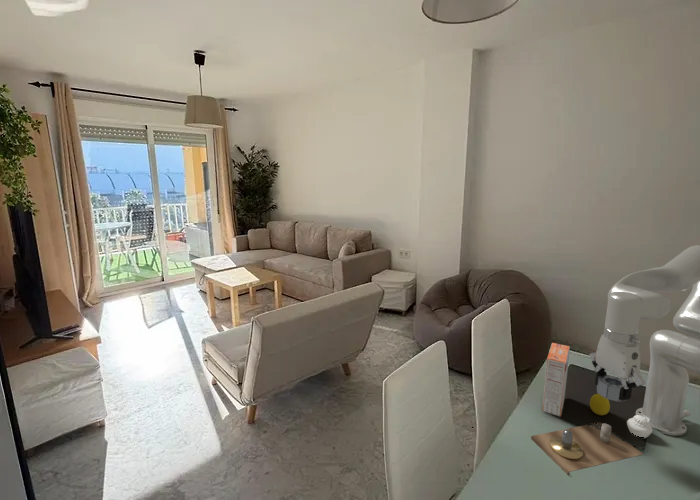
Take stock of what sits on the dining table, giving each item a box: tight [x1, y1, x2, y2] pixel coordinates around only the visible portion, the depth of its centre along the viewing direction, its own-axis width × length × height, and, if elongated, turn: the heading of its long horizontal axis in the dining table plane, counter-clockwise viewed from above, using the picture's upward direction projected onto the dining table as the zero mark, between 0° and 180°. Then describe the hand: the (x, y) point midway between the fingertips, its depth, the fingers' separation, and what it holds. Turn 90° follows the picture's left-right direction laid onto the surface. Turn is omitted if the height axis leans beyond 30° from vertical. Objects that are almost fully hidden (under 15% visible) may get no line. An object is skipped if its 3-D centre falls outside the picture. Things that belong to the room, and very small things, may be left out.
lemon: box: [589, 393, 611, 416], centre depth 119 cm, size 6×6×8 cm
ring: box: [596, 374, 627, 402], centre depth 103 cm, size 7×7×4 cm
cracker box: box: [542, 342, 571, 418], centre depth 123 cm, size 14×6×21 cm, turn 144°
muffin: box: [626, 414, 653, 439], centre depth 109 cm, size 6×6×7 cm
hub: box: [550, 429, 583, 460], centre depth 103 cm, size 8×8×6 cm
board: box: [530, 421, 644, 476], centre depth 105 cm, size 26×14×6 cm, turn 103°
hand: (611, 391), depth 103 cm, fingers closed on ring, 7 cm apart
